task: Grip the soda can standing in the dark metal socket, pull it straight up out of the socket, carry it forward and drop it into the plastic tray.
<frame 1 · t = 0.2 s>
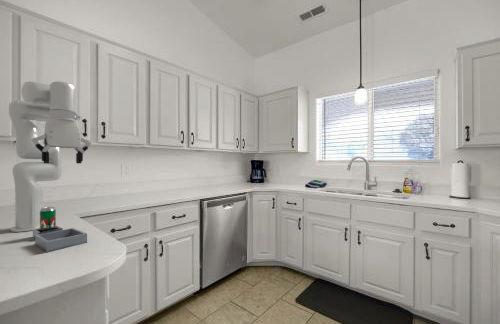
hand: (63, 163, 84), 31 cm above the countertop, tool pointing down, fingers open, 9 cm apart
pin socket: (47, 236, 97), on the countertop
tray: (61, 243, 88), on the countertop
soda can: (47, 236, 97), resting in pin socket
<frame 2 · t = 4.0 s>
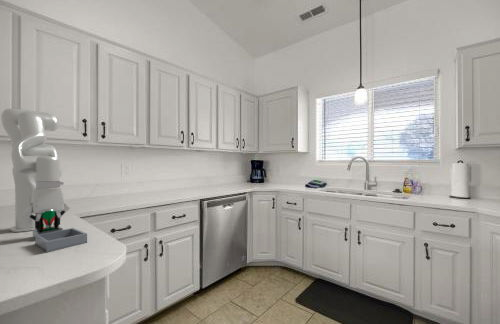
hand: (47, 228, 97), 3 cm above the countertop, tool pointing down, fingers closed on soda can, 5 cm apart
soda can: (47, 236, 97), resting in pin socket, touching gripper
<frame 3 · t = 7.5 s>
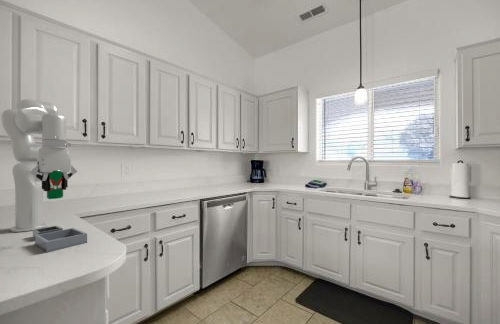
hand: (55, 189, 92), 20 cm above the countertop, tool pointing down, fingers closed on soda can, 5 cm apart
soda can: (55, 198, 92), point 16 cm above the countertop, touching gripper
when the fingers open (5 cm above the countertop, at t = 11.5 s): soda can drops 1 cm, resting on tray.
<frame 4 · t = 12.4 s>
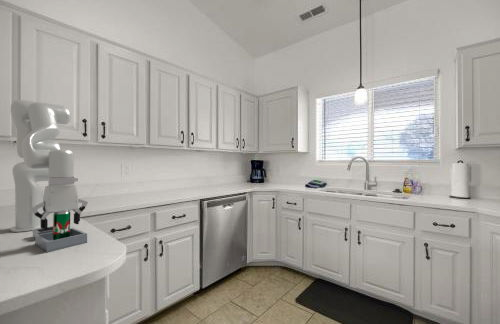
hand: (61, 226, 88), 6 cm above the countertop, tool pointing down, fingers open, 9 cm apart
soda can: (61, 242, 88), resting on tray
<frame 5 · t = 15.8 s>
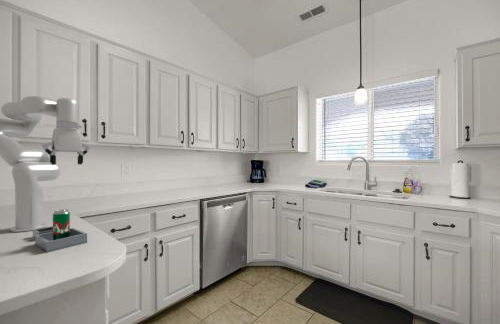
hand: (67, 164, 103), 30 cm above the countertop, tool pointing down, fingers open, 9 cm apart
nothing on the countertop moved.
at the end: soda can inside the target area on the tray (0.0 cm from its centre), point 0.4 cm above the tray's base; the gripper is holding nothing; soda can tilted 0° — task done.
